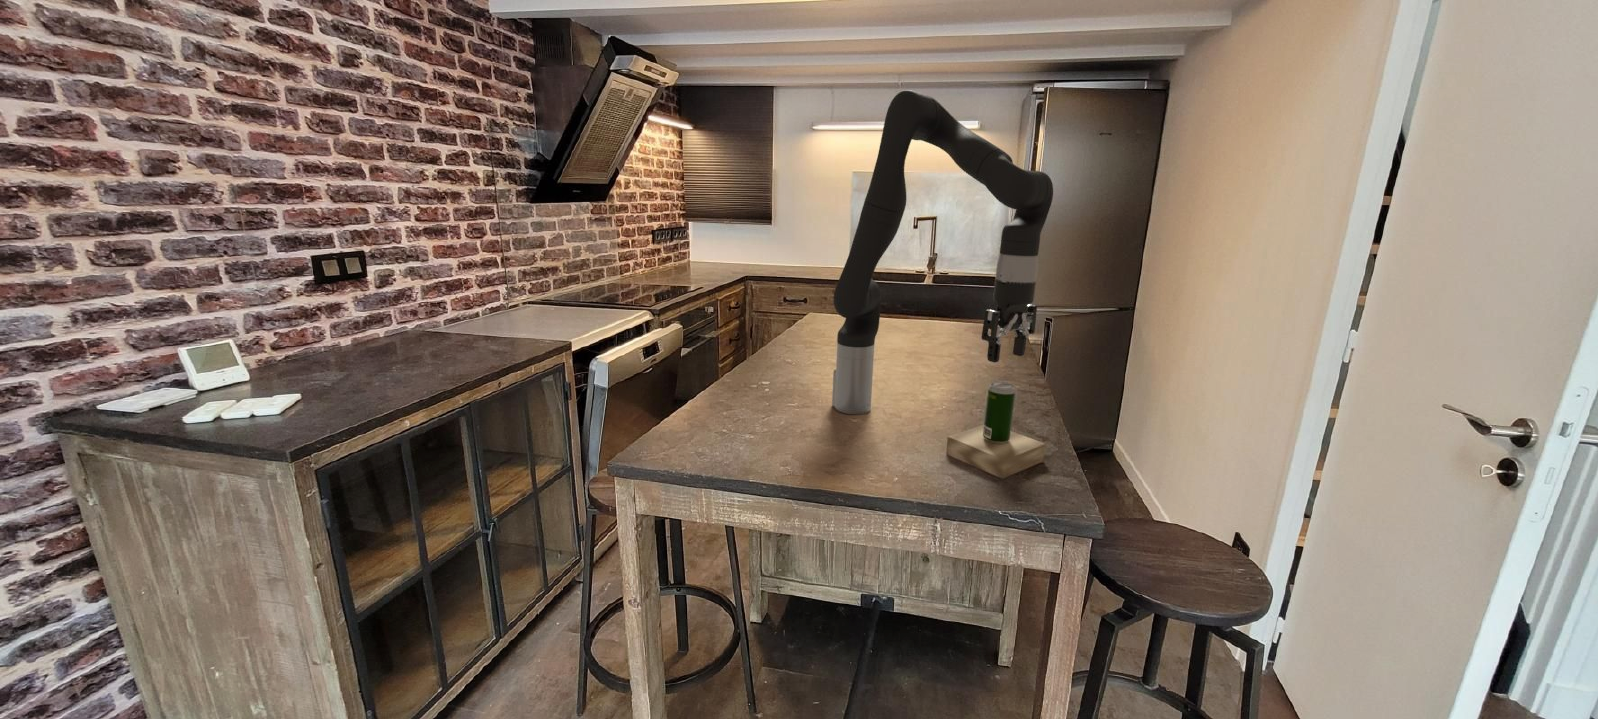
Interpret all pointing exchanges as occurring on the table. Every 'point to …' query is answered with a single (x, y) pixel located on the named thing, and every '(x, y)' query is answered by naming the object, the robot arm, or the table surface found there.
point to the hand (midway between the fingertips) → (1005, 358)
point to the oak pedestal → (995, 452)
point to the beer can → (999, 412)
